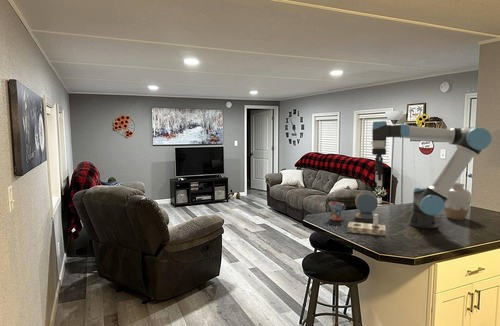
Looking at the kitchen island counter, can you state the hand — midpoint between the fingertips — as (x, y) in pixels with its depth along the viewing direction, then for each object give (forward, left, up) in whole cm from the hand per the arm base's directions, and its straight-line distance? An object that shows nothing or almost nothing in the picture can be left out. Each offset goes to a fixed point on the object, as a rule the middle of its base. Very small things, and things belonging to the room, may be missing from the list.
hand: (378, 184), depth 197 cm
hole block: (+6, +9, -26) cm, 28 cm away
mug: (+24, -11, -27) cm, 37 cm away
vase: (-49, -43, -27) cm, 71 cm away
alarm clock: (+7, -25, -27) cm, 37 cm away
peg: (+1, +9, -26) cm, 28 cm away
